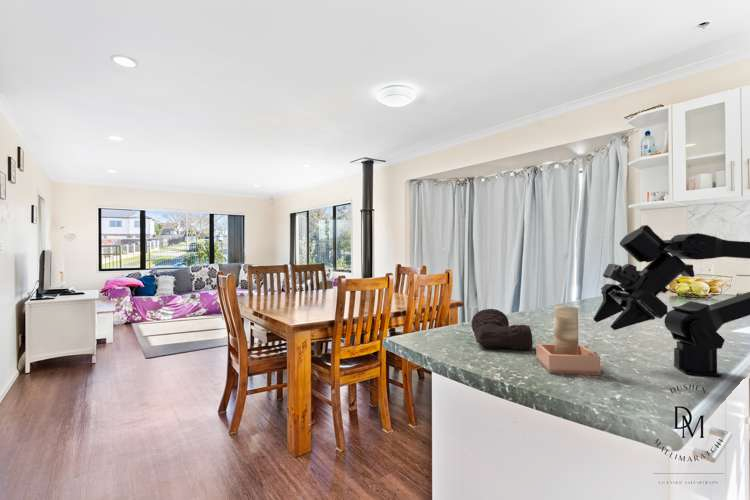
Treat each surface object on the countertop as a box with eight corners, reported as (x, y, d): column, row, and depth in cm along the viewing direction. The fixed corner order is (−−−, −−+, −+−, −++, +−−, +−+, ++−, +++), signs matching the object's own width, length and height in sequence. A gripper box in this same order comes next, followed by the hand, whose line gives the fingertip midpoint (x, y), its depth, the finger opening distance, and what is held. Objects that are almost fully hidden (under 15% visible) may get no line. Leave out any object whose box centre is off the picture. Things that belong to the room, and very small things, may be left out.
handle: (567, 344, 109) (587, 345, 108) (567, 347, 109) (587, 348, 108) (576, 350, 102) (597, 351, 101) (576, 354, 102) (597, 355, 101)
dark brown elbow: (533, 325, 102) (521, 307, 116) (474, 327, 104) (470, 309, 119) (534, 359, 103) (522, 337, 118) (476, 361, 106) (472, 339, 120)
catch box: (581, 361, 94) (581, 344, 94) (600, 375, 84) (600, 356, 84) (536, 359, 96) (536, 343, 96) (549, 373, 85) (549, 355, 85)
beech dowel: (581, 363, 90) (581, 307, 90) (573, 368, 86) (573, 310, 86) (559, 359, 93) (559, 305, 93) (551, 363, 90) (550, 307, 90)
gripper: (609, 251, 97) (563, 294, 99) (650, 251, 79) (593, 304, 80) (643, 283, 96) (596, 326, 98) (693, 291, 77) (634, 344, 79)
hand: (603, 324), depth 89 cm, fingers open, 9 cm apart
